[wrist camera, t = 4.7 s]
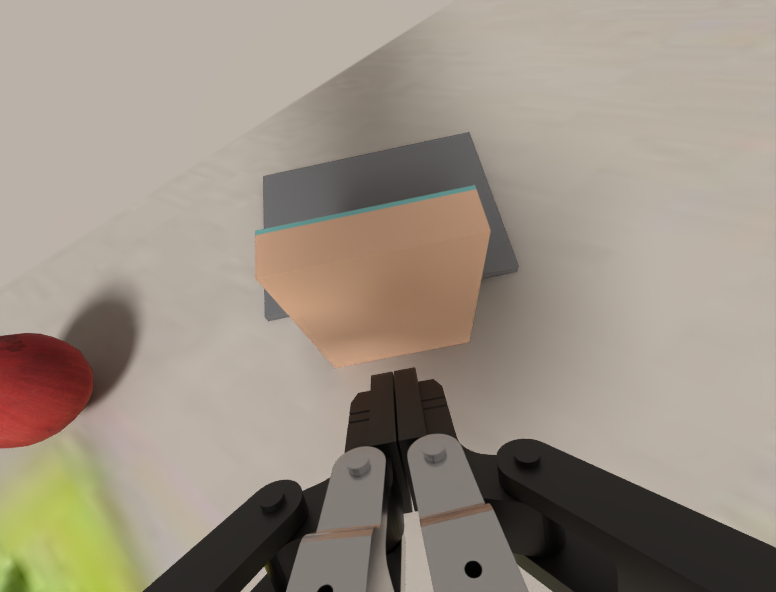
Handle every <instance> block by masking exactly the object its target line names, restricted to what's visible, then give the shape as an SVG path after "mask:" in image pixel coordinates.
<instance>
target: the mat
mask: <svg viewBox="0 0 776 592" xmlns="http://www.w3.org/2000/svg"><path fill="white" fill-rule="evenodd" d="M473 185H475V187H476V189H477V192H478V195H479V198H480V201H481V204H482V207H483V210H484V213H485V215H486V218H487V221H488V224H489V227H490V230H491V231H490V237H489V242H488V247H487V252H486V258H485V263H484V268H483V273H482V278H487V277H492V276H497V275H502V274H507V273H512V272H517V270H518V267H519V266H518V263H517V260H516V258H515V255H514V252H513V250H512V247H511V244H510V241H509V239H508V236H507V233H506V231H505V228H504V225H503V222H502V220H501V217H500V214H499V212H498V209H497V206H496V203H495V201H494V198H493V195H492V193H491V190H490V187H489V185H488V182H487V179H486V176H485V174H484V171H483V168H482V166H481V163H480V160H479V157H478V155H477V152H476V149H475V147H474V144H473V141H472V138H471V136H470V133H469V132H468V133H463V134H458V135H454V136H449V137H444V138H440V139H435V140H430V141H426V142H421V143H416V144H412V145H407V146H402V147H398V148H393V149H388V150H384V151H379V152H374V153H370V154H365V155H360V156H356V157H351V158H346V159H342V160H337V161H332V162H328V163H323V164H318V165H314V166H309V167H304V168H300V169H295V170H290V171H286V172H281V173H276V174H272V175H267V176H263V205H264V229H267V228H271V227H276V226H281V225H286V224H291V223H295V222H300V221H305V220H310V219H315V218H319V217H324V216H329V215H334V214H339V213H343V212H348V211H353V210H358V209H363V208H367V207H372V206H377V205H382V204H386V203H391V202H396V201H401V200H406V199H410V198H415V197H420V196H425V195H430V194H434V193H439V192H444V191H449V190H454V189H458V188H463V187H468V186H473ZM264 295H265V318H266V319H267V320H268V321H271V320H276V319H281V318H286V317H289V315H288V314H287V313H286V312H285V311H284V310H283V309H282V308H281V307H280V305H279V304H278V303H277V302H276V301H275V300H274V299H273V298H272V296H271V295H270V294H269V293H268V292H267V291H266V290H265V289H264Z"/></svg>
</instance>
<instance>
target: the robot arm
mask: <svg viewBox="0 0 776 592" xmlns="http://www.w3.org/2000/svg"><path fill="white" fill-rule="evenodd" d="M394 378H395V379H394ZM411 497H412V501H413V505H414V510H415V511H418V512H419V517H420V525H421V530H422V535H423V540H424V545H425V550H426V555H427V560H428V565H429V570H430V575H431V580H432V585H433V590H434V592H529V591H528V589H527V586H526V584H525V582H524V579H523V577H522V575H521V572H520V570H519V568H518V566H517V564H518V565H519V566H520V567H521V568H522V569H524V570H525V571H526V572H528V573H529V574H530V575H532V576H533V577H534V578H536V579H537V580H538V581H540V582H541V583H542V584H544V585H545V586H546V587H548V588H549V589H550V590H551V591H553V592H776V548H775V547H773V546H771V545H769V544H767V543H764V542H762V541H760V540H758V539H755V538H753V537H751V536H749V535H747V534H744V533H742V532H740V531H738V530H736V529H733V528H731V527H729V526H727V525H724V524H722V523H720V522H718V521H716V520H713V519H711V518H709V517H707V516H705V515H702V514H700V513H698V512H696V511H693V510H691V509H689V508H687V507H685V506H682V505H680V504H678V503H676V502H674V501H671V500H669V499H667V498H665V497H662V496H660V495H658V494H656V493H654V492H651V491H649V490H647V489H645V488H643V487H640V486H638V485H636V484H634V483H631V482H629V481H627V480H625V479H623V478H620V477H618V476H616V475H614V474H612V473H609V472H607V471H605V470H603V469H600V468H598V467H596V466H594V465H592V464H589V463H587V462H585V461H583V460H581V459H578V458H576V457H574V456H572V455H569V454H567V453H565V452H563V451H561V450H558V449H556V448H554V447H552V446H550V445H547V444H545V443H543V442H540V441H537V440H533V439H517V440H513V441H510V442H508V443H506V444H504V445H503V446H502V447H501V448H500V449H499V451H498V452H497V455H487V454H479V453H475V452H473V451H470V450H468V449H466V448H465V447H464V446H462V445H461V444H460V442H459V441H458V439H457V437H456V433H455V430H454V426H453V423H452V419H451V416H450V412H449V409H448V406H447V402H446V398H445V395H444V391H443V388H442V386H441V385H440V384H439V383H438V382H436V381H435V380H434V379H431V380H426V381H420V382H418V379H417V374H416V369H415V367H414V368H409V369H403V370H398V371H394V375H393V372H388V373H382V374H377V375H372V376H371V391H366V392H361V393H358V394H357V395H356V397H355V398H354V400H353V401H352V402H351V407H350V416H349V424H348V430H347V438H346V446H345V453H344V454H343V455H342V456H341V457H340V458H339V459H338V460H337V461H336V462H335V464H334V466H333V469H332V473H331V477H330V478H328V479H327V480H325V481H323V482H321V483H319V484H317V485H315V486H313V487H310V488H308V489H306V490H304V491H302V489H301V486H300V485H299V484H298V483H297V482H295V481H292V480H279V481H275V482H273V483H270V484H268V485H266V486H264V487H263V488H261V489H260V490H259V491H257V492H256V493H255V494H254V495H253V496H252V497H251V498H249V499H248V500H247V501H246V502H245V503H244V504H242V505H241V506H240V507H239V508H238V509H237V510H236V511H234V512H233V513H232V514H231V515H230V516H229V517H228V518H226V519H225V520H224V521H223V522H222V523H221V524H220V525H218V526H217V527H216V528H215V529H214V530H213V531H212V532H210V533H209V534H208V535H207V536H206V537H205V538H204V539H202V540H201V541H200V542H199V543H198V544H197V545H195V546H194V547H193V548H192V549H191V550H190V551H189V552H187V553H186V554H185V555H184V556H183V557H182V558H181V559H179V560H178V561H177V562H176V563H175V564H174V565H173V566H171V567H170V568H169V569H168V570H167V571H166V572H165V573H163V574H162V575H161V576H160V577H159V578H158V579H156V580H155V581H154V582H153V583H152V584H151V585H150V586H148V587H147V588H146V589H145V590H144V591H143V592H240V591H241V590H242V589H243V588H244V587H245V586H246V585H247V584H248V583H249V582H250V581H251V580H252V579H253V578H254V577H255V576H256V575H257V573H258V572H259V571H260V570H261V569H262V568H263V567H264V566H265V569H266V571H267V574H266V575H265V576H264V577H263V579H262V580H261V581H260V582H259V583H258V584H257V585H256V586H255V587H254V588H253V589H252V590H251V592H405V553H406V542H405V536H404V515H403V514H404V513H410V512H412V502H411Z"/></svg>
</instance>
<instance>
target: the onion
mask: <svg viewBox="0 0 776 592" xmlns="http://www.w3.org/2000/svg"><path fill="white" fill-rule="evenodd" d="M92 392H93V371H92V369H91V368H90V366H89V364H88V363H87V361H86V359H85V358H84V356H83V355H82V353H81V352H80V351H79V350H78V349H76V348H75V347H73V346H71V345H70V344H68V343H66V342H63V341H61V340H59V339H57V338H54V337H51V336H47V335H43V334H34V333H22V334H13V335H5V336H0V448H15V447H23V446H29V445H32V444H35V443H38V442H41V441H43V440H45V439H47V438H49V437H51V436H53V435H55V434H57V433H58V432H60V431H61V430H62V429H64V428H65V427H66V426H67V425H68V424H70V423H71V422H72V421H73V420H74V419H75V418H76V417H77V416H78V415H79V413H80V412H81V411H82V410H83V409H84V408H85V407H86V404H87V402H88V400H89V398H90V396H91V394H92Z"/></svg>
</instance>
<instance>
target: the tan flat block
mask: <svg viewBox="0 0 776 592" xmlns="http://www.w3.org/2000/svg"><path fill="white" fill-rule="evenodd" d="M490 231H491V230H490V227H489V224H488V221H487V218H486V215H485V213H484V210H483V207H482V204H481V201H480V198H479V195H478V192H477V189H476V187H475V185H473V186H468V187H463V188H458V189H454V190H449V191H444V192H439V193H434V194H430V195H425V196H420V197H415V198H410V199H406V200H401V201H396V202H391V203H386V204H382V205H377V206H372V207H367V208H363V209H358V210H353V211H348V212H343V213H339V214H334V215H329V216H324V217H319V218H315V219H310V220H305V221H300V222H295V223H291V224H286V225H281V226H276V227H271V228H267V229H262V230H257V231H255V279H256V280H257V281H258V282H259V283H260V284H261V285H262V286H263V287H264V289H265V290H266V291H267V292H268V293H269V294H270V295H271V296H272V298H273V299H274V300H275V301H276V302H277V303H278V304H279V305H280V307H281V308H282V309H283V310H284V311H285V312H286V313H287V314H288V315H289V317H290V318H291V319H292V320H293V321H294V322H295V323H296V324H297V326H298V327H299V328H300V329H301V330H302V331H303V332H304V333H305V335H306V336H307V337H308V338H309V339H310V340H311V341H312V342H313V343H314V345H315V346H316V347H317V348H318V349H319V350H320V351H321V352H322V354H323V355H324V356H325V357H326V358H327V359H328V360H329V361H330V363H331V364H332V365H333V366H334V367H335V368H338V367H343V366H348V365H354V364H359V363H364V362H369V361H374V360H380V359H385V358H390V357H395V356H400V355H406V354H411V353H416V352H421V351H426V350H432V349H437V348H442V347H447V346H452V345H458V344H463V343H468V342H469V341H470V336H471V331H472V326H473V320H474V315H475V310H476V305H477V299H478V294H479V289H480V284H481V279H482V273H483V268H484V263H485V258H486V252H487V247H488V242H489V237H490Z"/></svg>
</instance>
